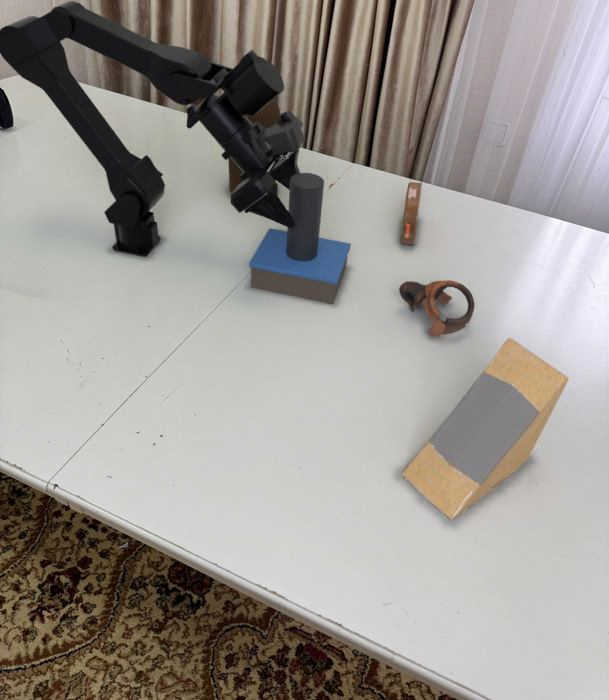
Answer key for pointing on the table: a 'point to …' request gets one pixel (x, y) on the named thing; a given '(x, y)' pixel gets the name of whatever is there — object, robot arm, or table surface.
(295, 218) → the dark grey cylinder
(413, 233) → the tin
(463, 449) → the sandwich container
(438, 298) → the brown ring with knob
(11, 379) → the table surface
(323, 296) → the container
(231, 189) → the olive oil
